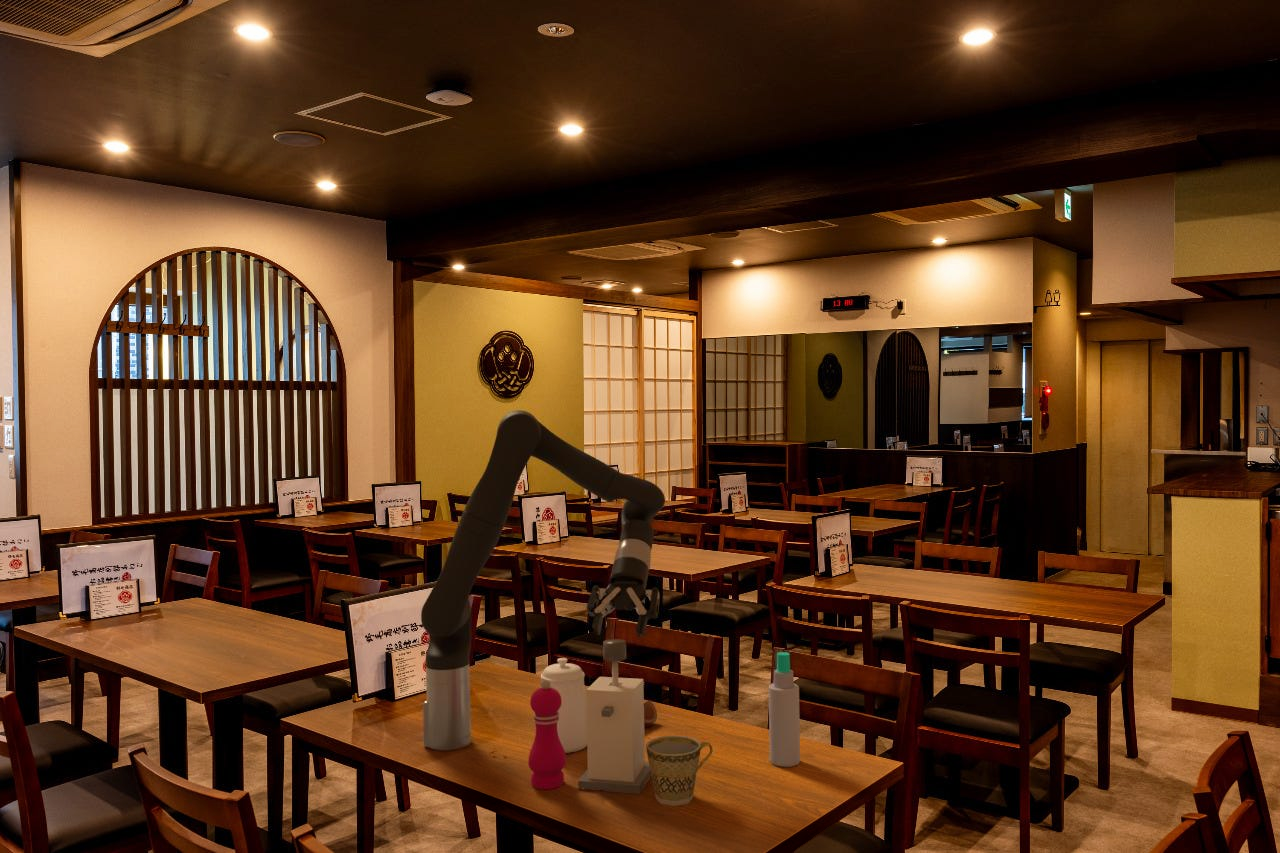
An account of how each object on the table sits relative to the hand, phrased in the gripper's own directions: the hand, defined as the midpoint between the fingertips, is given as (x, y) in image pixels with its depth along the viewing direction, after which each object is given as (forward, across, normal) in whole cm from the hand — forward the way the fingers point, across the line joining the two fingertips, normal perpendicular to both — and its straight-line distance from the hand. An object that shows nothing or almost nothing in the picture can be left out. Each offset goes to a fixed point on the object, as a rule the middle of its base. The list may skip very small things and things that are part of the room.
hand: (617, 633), depth 186 cm
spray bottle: (+11, +31, +29) cm, 44 cm away
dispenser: (+21, 0, +18) cm, 28 cm away
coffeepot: (+11, -16, +29) cm, 35 cm away
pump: (+17, 0, +14) cm, 22 cm away
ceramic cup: (+26, +14, +14) cm, 32 cm away
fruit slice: (0, -3, +40) cm, 40 cm away
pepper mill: (+25, -13, +15) cm, 31 cm away
